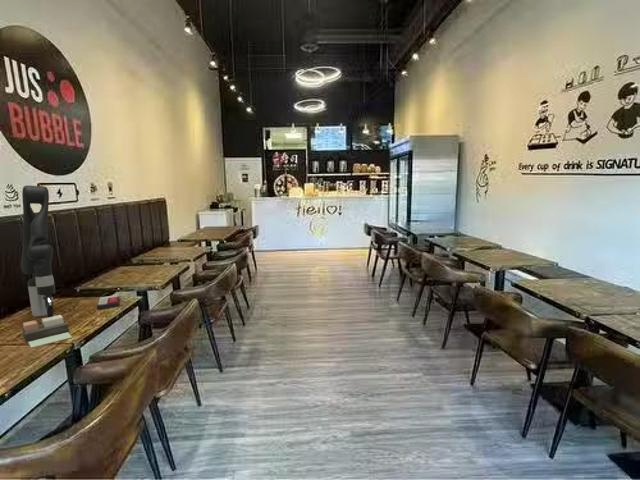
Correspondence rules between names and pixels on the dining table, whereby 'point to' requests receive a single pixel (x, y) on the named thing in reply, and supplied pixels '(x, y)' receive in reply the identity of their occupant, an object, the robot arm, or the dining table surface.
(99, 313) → the dining table surface
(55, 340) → the mat
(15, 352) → the dining table surface
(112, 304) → the red and white box
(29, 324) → the salmon pink block
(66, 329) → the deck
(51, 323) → the cream tile
